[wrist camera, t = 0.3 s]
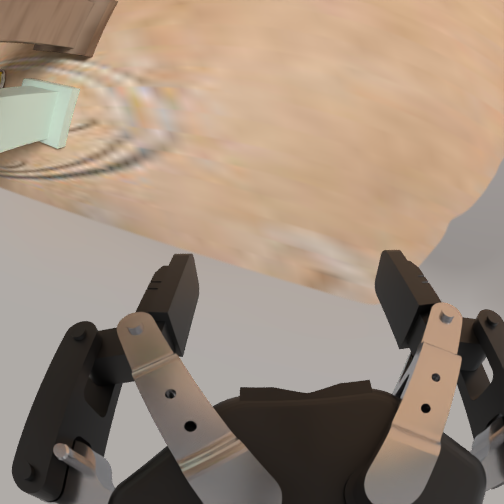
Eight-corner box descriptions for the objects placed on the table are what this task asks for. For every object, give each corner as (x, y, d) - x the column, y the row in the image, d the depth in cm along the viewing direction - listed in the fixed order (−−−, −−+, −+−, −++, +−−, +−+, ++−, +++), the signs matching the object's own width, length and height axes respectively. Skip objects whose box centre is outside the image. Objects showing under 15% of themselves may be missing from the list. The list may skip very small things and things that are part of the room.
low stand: (15, 132, 35) (-74, 165, 15) (29, 72, 29) (-66, 84, 10) (67, 153, 37) (-36, 197, 18) (86, 84, 32) (-28, 91, 12)
